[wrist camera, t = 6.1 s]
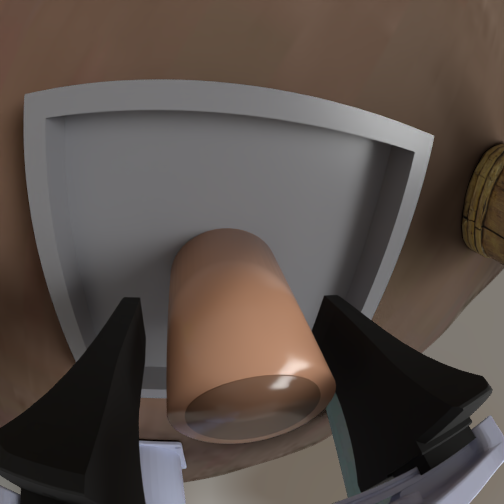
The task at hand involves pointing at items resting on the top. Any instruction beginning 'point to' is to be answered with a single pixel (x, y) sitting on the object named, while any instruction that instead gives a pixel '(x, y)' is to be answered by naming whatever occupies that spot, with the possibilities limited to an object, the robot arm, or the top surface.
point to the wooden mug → (486, 206)
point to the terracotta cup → (239, 344)
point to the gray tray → (210, 194)
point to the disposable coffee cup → (344, 448)
